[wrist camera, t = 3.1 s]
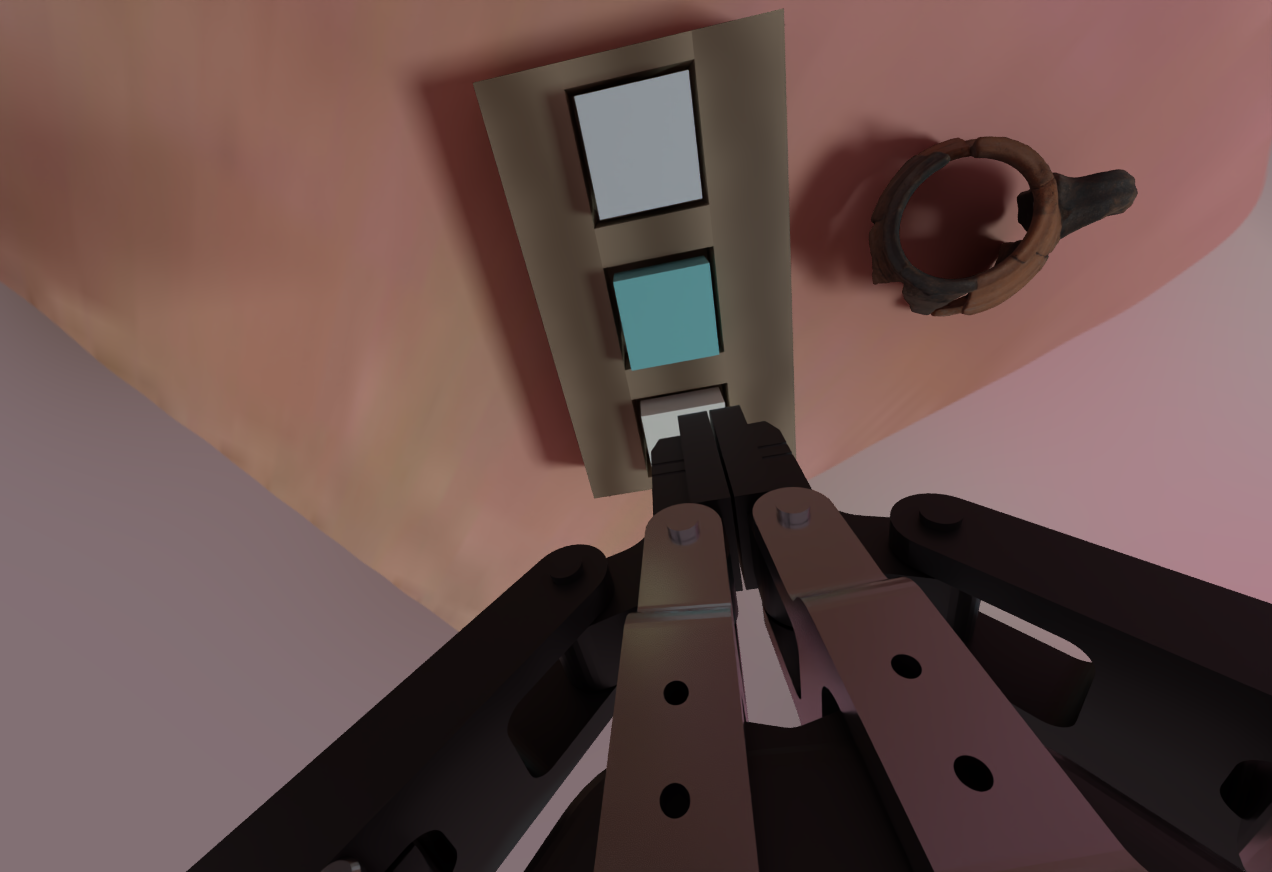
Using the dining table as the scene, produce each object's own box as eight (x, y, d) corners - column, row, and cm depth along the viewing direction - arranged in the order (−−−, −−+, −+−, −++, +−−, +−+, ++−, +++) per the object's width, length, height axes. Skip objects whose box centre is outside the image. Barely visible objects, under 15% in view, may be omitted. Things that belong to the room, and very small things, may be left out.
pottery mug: (884, 341, 33) (894, 341, 26) (844, 207, 33) (842, 168, 25) (1110, 269, 28) (1205, 242, 20) (1066, 109, 27) (1146, 22, 20)
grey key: (602, 215, 25) (600, 219, 23) (578, 101, 23) (574, 96, 21) (696, 195, 25) (702, 198, 23) (683, 77, 22) (688, 70, 20)
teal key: (631, 356, 29) (631, 370, 27) (614, 273, 27) (613, 282, 25) (713, 341, 29) (719, 354, 27) (703, 255, 26) (709, 263, 24)
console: (597, 466, 37) (594, 498, 34) (493, 93, 25) (472, 82, 22) (779, 436, 36) (796, 465, 33) (761, 29, 24) (784, 8, 21)
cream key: (653, 464, 33) (655, 483, 31) (640, 400, 31) (641, 416, 29) (725, 452, 33) (731, 470, 31) (718, 386, 30) (724, 402, 28)
